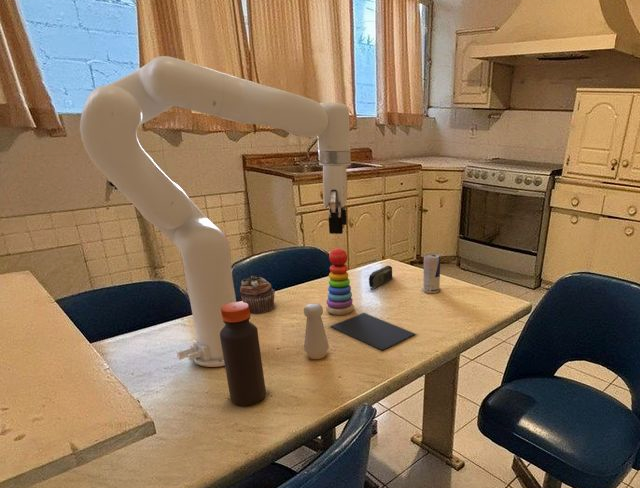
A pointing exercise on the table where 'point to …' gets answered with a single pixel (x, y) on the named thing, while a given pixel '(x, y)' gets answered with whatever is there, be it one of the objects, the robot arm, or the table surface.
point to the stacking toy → (339, 285)
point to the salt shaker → (315, 332)
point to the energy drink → (431, 273)
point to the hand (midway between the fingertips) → (338, 228)
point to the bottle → (242, 355)
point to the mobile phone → (380, 277)
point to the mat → (373, 331)
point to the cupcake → (257, 294)
